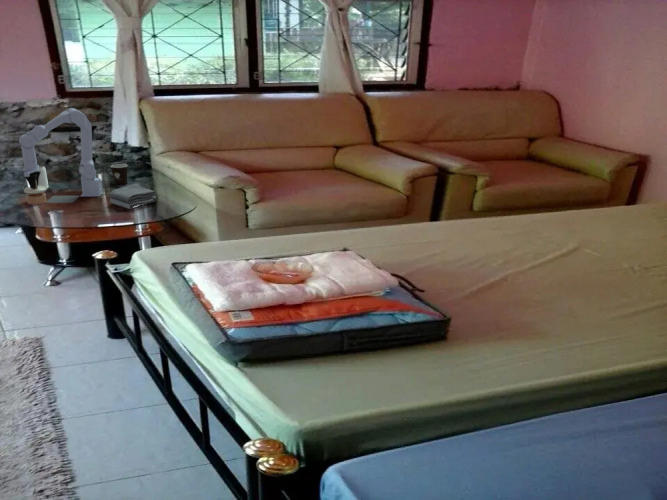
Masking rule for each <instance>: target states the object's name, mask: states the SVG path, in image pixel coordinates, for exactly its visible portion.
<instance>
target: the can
mask: <svg viewBox="0 0 667 500" xmlns="http://www.w3.org/2000/svg"><path fill="white" fill-rule="evenodd" d="M38 165H39V170H38V171H40V172H41V173H40V176H39V182H38V186H45V187H46V189H49V183H48V181H49V180H48V176H47V175H48V174H47V170H46V167H45V165H43V164H38Z"/></svg>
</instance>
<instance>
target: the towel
mask: <svg viewBox="0 0 667 500" xmlns="http://www.w3.org/2000/svg"><path fill="white" fill-rule="evenodd" d="M108 195H109V198H110V199H109V202H110V203H111V204H113V205H115V206H118V207H122V208H125V209H128V210H133V209H134V208H133V207H134V206H137V205H142V206H145V205H148V204H151V203H154V202H156V200H157V195H156V192H155V190H152V189H149V188H144V187H143V186H141V185H140V184H138V183H137V182H136V183H132V184H129V185H126V186H122V187H119V188H116V189H112V190H111V192H110V193H109V194H108ZM147 203H148V204H147ZM144 204H145V205H144ZM132 208H133V209H132Z"/></svg>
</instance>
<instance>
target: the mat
mask: <svg viewBox="0 0 667 500" xmlns="http://www.w3.org/2000/svg"><path fill="white" fill-rule="evenodd" d="M79 197H80V195H52V196H51V197H50V198H49V199H48V200H46V202H45V204H73V203H74V202H75V201H76V200H77V199H79Z"/></svg>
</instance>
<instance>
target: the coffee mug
mask: <svg viewBox="0 0 667 500" xmlns="http://www.w3.org/2000/svg"><path fill="white" fill-rule="evenodd" d="M108 169H110V170H111V173H112V174H110V173H109V172H108ZM105 172H106V173H107V175H109V176H110V177H112V178H113V181H114V184H115V185H116V186H123V185H127V184H128V164H125V163H116V164H112V165H110V167H106V168H105Z"/></svg>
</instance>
